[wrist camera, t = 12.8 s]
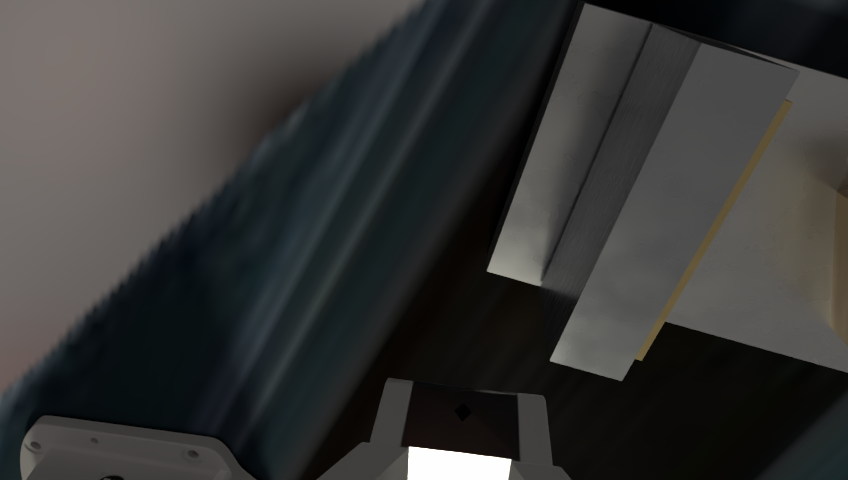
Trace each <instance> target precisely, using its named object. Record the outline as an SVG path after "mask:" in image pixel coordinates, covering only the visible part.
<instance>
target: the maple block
mask: <svg viewBox="0 0 848 480" xmlns="http://www.w3.org/2000/svg"><path fill="white" fill-rule="evenodd" d="M830 327H831V328H832V329H833V331H834V332H835V333H836V334H837V335H838V336H839V337H840V338H841V339H842V340H843V341H844V343H845V344H846V345H847V346H848V189H847V190H841V191H837V192H836V213H835V234H834V254H833V275H832V296H831V317H830Z"/></svg>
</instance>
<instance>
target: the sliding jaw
mask: <svg viewBox="0 0 848 480" xmlns="http://www.w3.org/2000/svg"><path fill="white" fill-rule="evenodd" d="M799 74H800V71H797V70H795V69H792V68H789V67H786V66H784V65H781V64H778V63H776V62H773V61H770V60H768V59H765V58H762V57H760V56H757V55H754V54H751V53H749V52H746V51H743V50H741V49H738V48H735V47H733V46H730V45H726V44H723V43H719V42H716V41H713V40H709V39H706V38H702V37H699V36H695V35H692V34H688V33H685V32H682V31H678V30H675V29H671V28H668V27H664V26H661V25H657V24H653V27H652V29H651V31H650V34H649V36H648V38H647V41H646V43H645V45H644V48H643V50H642V52H641V55H640V57H639V59H638V62H637V64H636V66H635V69H634V71H633V73H632V75H631V78H630V80H629V82H628V85H627V87H626V89H625V92H624V94H623V96H622V99H621V101H620V103H619V106H618V108H617V110H616V113H615V115H614V117H613V119H612V122H611V124H610V126H609V129H608V131H607V133H606V136H605V138H604V140H603V143H602V145H601V147H600V150H599V152H598V154H597V157H596V159H595V161H594V163H593V166H592V168H591V170H590V173H589V175H588V177H587V180H586V182H585V184H584V187H583V189H582V191H581V194H580V196H579V198H578V201H577V203H576V205H575V208H574V210H573V212H572V214H571V217H570V219H569V221H568V224H567V226H566V228H565V231H564V233H563V235H562V238H561V240H560V242H559V245H558V247H557V249H556V252H555V254H554V256H553V258H552V261H551V263H550V265H549V268H548V270H547V272H546V275H545V277H544V279H543V282H542V284H541V286H540V297H541V304H542V311H543V318H544V326H545V333H546V340H547V347H548V354H549V361H552V362H555V363H559V364H563V365H566V366H570V367H573V368H577V369H581V370H584V371H588V372H591V373H595V374H599V375H602V376H606V377H609V378H613V379H616V380H620V381H622V380H623V378H624V376H625V375H626V373H627V371H628V370H629V368H630V366H631V364H632V363H633V361H634V359H637V360H641V361H642V359H643V358H644V356H645V354H646V353H647V351H648V349H649V347H650V346H651V344H652V342H653V341H654V339H655V337H656V336H657V334H658V332H659V330H660V329H661V327H662V325H663V324H664V322H665V320H666V319H667V317H668V315H669V313H670V312H671V310H672V308H673V307H674V305H675V303H676V302H677V300H678V298H679V296H680V295H681V293H682V291H683V290H684V288H685V286H686V285H687V283H688V281H689V279H690V278H691V276H692V274H693V273H694V271H695V269H696V268H697V266H698V264H699V262H700V261H701V259H702V257H703V256H704V254H705V252H706V251H707V249H708V247H709V245H710V244H711V242H712V240H713V239H714V237H715V235H716V234H717V232H718V230H719V228H720V227H721V225H722V223H723V222H724V220H725V218H726V217H727V215H728V213H729V211H730V210H731V208H732V206H733V205H734V203H735V201H736V200H737V198H738V196H739V194H740V193H741V191H742V189H743V188H744V186H745V184H746V183H747V181H748V179H749V177H750V176H751V174H752V172H753V171H754V169H755V167H756V166H757V164H758V162H759V160H760V159H761V157H762V155H763V154H764V152H765V150H766V149H767V147H768V145H769V143H770V142H771V140H772V138H773V137H774V135H775V133H776V132H777V130H778V128H779V126H780V125H781V123H782V121H783V120H784V118H785V116H786V115H787V113H788V111H789V109H790V108H791V106H792V104H793V102H791V101H789V100H787V99H785V98H786V97H787V95H788V93H789V91H790V90H791V88H792V86H793V84H794V83H795V81H796V79H797V78H798V76H799Z"/></svg>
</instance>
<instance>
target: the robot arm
mask: <svg viewBox="0 0 848 480" xmlns="http://www.w3.org/2000/svg"><path fill="white" fill-rule="evenodd" d="M20 467H21V475H22V480H256V479H255V478H254V477H252V476H251V475H250V474H248V473H247V472H246V471H245V470H244V469H243V468H242V467H241V466H240V465H239V464H238V462H237V461H236V459H235V458H234V456H233V455H232V453H231V452H230V450H229V449H228V448H227V447H226V446H225V445H224V444H223V443H222V442H221V441H219V440H217V439H215V438H212V437H207V436H199V435H192V434H184V433H177V432H170V431H162V430H155V429H147V428H140V427H132V426H125V425H118V424H110V423H103V422H95V421H88V420H80V419H73V418H65V417H58V416H46V415H45V416H42V417H40V418H39V419H38V420H37V421H36V422H35V423H34V425H33V426H32V427H31V428H30V430H29V431H28V432H27V434H26V435H25V437H24V440H23V443H22V446H21V453H20ZM317 480H571V479H570V478H569V476H568V475H567V474H566V473H565V472H564V470H563V469H562V468H561V467H556V466H553V465H552V456H551V447H550V438H549V429H548V419H547V410H546V401H545V398H544V397H543V395H533V394H523V393H517V394H516V393H510V392H500V391H491V390H481V389H472V388H462V387H455V386H447V385H440V384H433V383H426V382H418V381H414V382H413V381H407V380H400V379H393V378H388V380H387V382H386V383H385V387H384V391H383V395H382V398H381V402H380V406H379V410H378V413H377V417H376V421H375V425H374V428H373V432H372V436H371V440H370V443H364V442H362V443H360V444H359V445H358V446H357V447H356V448H354V449H353V450H352V451H351V452H349V453H348V454H347V455H346V456H345V457H343V458H342V459H341V460H340V461H339V462H337V463H336V464H335V465H334V466H333V467H331V468H330V469H329V470H328V471H327V472H325V473H324V474H323V475H322V476H321V477H319V478H318V479H317Z"/></svg>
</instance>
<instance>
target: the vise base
mask: <svg viewBox="0 0 848 480" xmlns="http://www.w3.org/2000/svg"><path fill="white" fill-rule="evenodd" d="M653 24H657V25H661V26H664V27H668V28H671V29H675V30H678V31H682V32H685V33H688V34H692V35H695V36H699V37H702V38H706V39H709V40H713V41H716V42H719V43H723V44H726V45H730V46H733V47H735V48H738V49H741V50H743V51H746V52H749V53H751V54H754V55H757V56H760V57H762V58H765V59H768V60H770V61H773V62H776V63H778V64H781V65H784V66H786V67H789V68H792V69H795V70H797V71H800V74H799V76H798V78H797V79H796V81H795V83H794V84H793V86H792V88H791V90H790V91H789V93H788V95H787V97H786V98H785V99H787V100H789V101H791V102H793V104H792V106H791V108H790V109H789V111H788V113H787V115H786V116H785V118H784V120H783V121H782V123H781V125H780V126H779V128H778V130H777V132H776V133H775V135H774V137H773V138H772V140H771V142H770V143H769V145H768V147H767V149H766V150H765V152H764V154H763V155H762V157H761V159H760V160H759V162H758V164H757V166H756V167H755V169H754V171H753V172H752V174H751V176H750V177H749V179H748V181H747V183H746V184H745V186H744V188H743V189H742V191H741V193H740V194H739V196H738V198H737V200H736V201H735V203H734V205H733V206H732V208H731V210H730V211H729V213H728V215H727V217H726V218H725V220H724V222H723V223H722V225H721V227H720V228H719V230H718V232H717V234H716V235H715V237H714V239H713V240H712V242H711V244H710V245H709V247H708V249H707V251H706V252H705V254H704V256H703V257H702V259H701V261H700V262H699V264H698V266H697V268H696V269H695V271H694V273H693V274H692V276H691V278H690V279H689V281H688V283H687V285H686V286H685V288H684V290H683V291H682V293H681V295H680V296H679V298H678V300H677V302H676V303H675V305H674V307H673V308H672V310H671V312H670V313H669V315H668V317H667V319H666V320H665V321H666V322H669V323H673V324H677V325H680V326H684V327H687V328H691V329H694V330H698V331H702V332H705V333H709V334H712V335H716V336H719V337H723V338H726V339H730V340H734V341H737V342H741V343H744V344H748V345H751V346H755V347H759V348H762V349H766V350H769V351H773V352H776V353H780V354H783V355H787V356H791V357H794V358H798V359H801V360H805V361H808V362H812V363H816V364H819V365H823V366H826V367H830V368H833V369H837V370H840V371H844V372H848V346H847V345H846V344H845V343H844V341H843V340H842V339H841V338H840V337H839V336H838V335H837V334H836V333H835V332H834V331H833V329H832V328H831V327H830V317H831V296H832V275H833V254H834V234H835V213H836V192H837V191H841V190H847V189H848V78H845V77H842V76H838V75H835V74H831V73H828V72H825V71H821V70H818V69H814V68H811V67H807V66H804V65H800V64H797V63H794V62H790V61H787V60H783V59H780V58H776V57H773V56H770V55H766V54H763V53H759V52H756V51H752V50H749V49H745V48H742V47H739V46H735V45H732V44H728V43H725V42H721V41H718V40H714V39H711V38H708V37H704V36H701V35H697V34H694V33H690V32H687V31H683V30H680V29H677V28H673V27H670V26H666V25H663V24H659V23H656V22H652V21H649V20H646V19H642V18H639V17H635V16H632V15H628V14H625V13H622V12H618V11H615V10H611V9H608V8H604V7H601V6H597V5H594V4H591V3H587V2H584V1H580V0H579V1H578V3H577V6H576V9H575V12H574V14H573V17H572V20H571V23H570V26H569V28H568V31H567V34H566V37H565V39H564V42H563V45H562V48H561V50H560V53H559V56H558V59H557V62H556V64H555V67H554V70H553V73H552V75H551V78H550V81H549V84H548V86H547V89H546V92H545V95H544V97H543V100H542V103H541V106H540V109H539V111H538V114H537V117H536V120H535V122H534V125H533V128H532V131H531V133H530V136H529V139H528V142H527V145H526V147H525V150H524V153H523V156H522V158H521V161H520V164H519V167H518V169H517V172H516V175H515V178H514V181H513V183H512V186H511V189H510V192H509V194H508V197H507V200H506V203H505V205H504V208H503V211H502V214H501V217H500V219H499V222H498V225H497V228H496V230H495V233H494V236H493V239H492V241H491V244H490V247H489V250H488V253H487V271H488V272H491V273H495V274H498V275H502V276H506V277H509V278H513V279H516V280H520V281H523V282H527V283H530V284H534V285H538V286H541V284H542V282H543V279H544V277H545V275H546V272H547V270H548V268H549V265H550V263H551V261H552V258H553V256H554V254H555V252H556V249H557V247H558V245H559V242H560V240H561V238H562V235H563V233H564V231H565V228H566V226H567V224H568V221H569V219H570V217H571V214H572V212H573V210H574V208H575V205H576V203H577V201H578V198H579V196H580V194H581V191H582V189H583V187H584V184H585V182H586V180H587V177H588V175H589V173H590V170H591V168H592V166H593V163H594V161H595V159H596V157H597V154H598V152H599V150H600V147H601V145H602V143H603V140H604V138H605V136H606V133H607V131H608V129H609V126H610V124H611V122H612V119H613V117H614V115H615V113H616V110H617V108H618V106H619V103H620V101H621V99H622V96H623V94H624V92H625V89H626V87H627V85H628V82H629V80H630V78H631V75H632V73H633V71H634V69H635V66H636V64H637V62H638V59H639V57H640V55H641V52H642V50H643V48H644V45H645V43H646V41H647V38H648V36H649V34H650V31H651V29H652V27H653Z"/></svg>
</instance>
